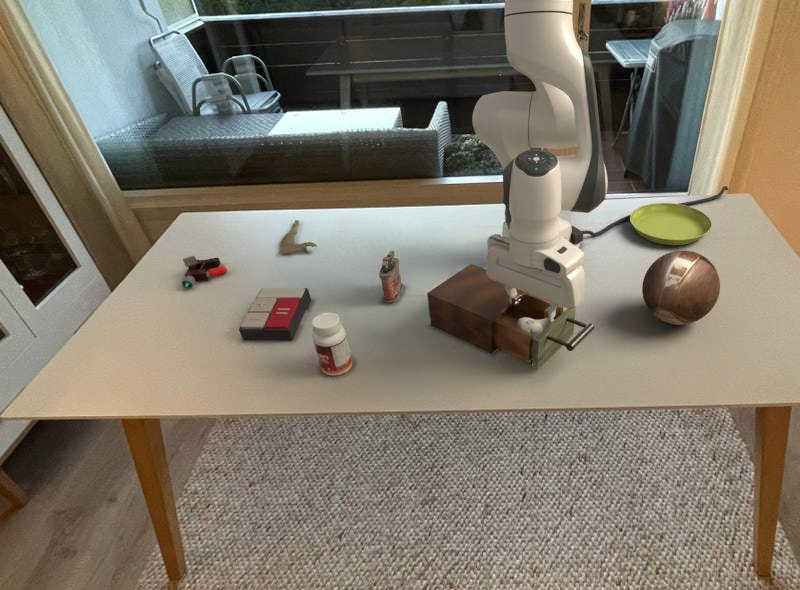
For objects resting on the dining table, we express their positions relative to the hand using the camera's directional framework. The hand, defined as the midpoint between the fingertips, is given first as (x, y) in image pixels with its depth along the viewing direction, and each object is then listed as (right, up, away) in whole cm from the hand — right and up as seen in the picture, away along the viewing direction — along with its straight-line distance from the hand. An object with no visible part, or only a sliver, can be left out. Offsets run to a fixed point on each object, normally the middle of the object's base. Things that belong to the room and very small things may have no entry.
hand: (532, 310), depth 110 cm
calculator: (-55, -1, +16) cm, 57 cm away
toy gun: (-78, +11, +31) cm, 84 cm away
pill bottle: (-38, -11, +2) cm, 40 cm away
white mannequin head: (+1, -5, +4) cm, 7 cm away
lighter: (-30, +5, +22) cm, 38 cm away
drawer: (+1, -6, +4) cm, 8 cm away
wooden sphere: (+31, -1, +11) cm, 33 cm away
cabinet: (-10, -2, +12) cm, 15 cm away
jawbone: (-58, +23, +45) cm, 77 cm away
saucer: (+40, +24, +40) cm, 62 cm away
